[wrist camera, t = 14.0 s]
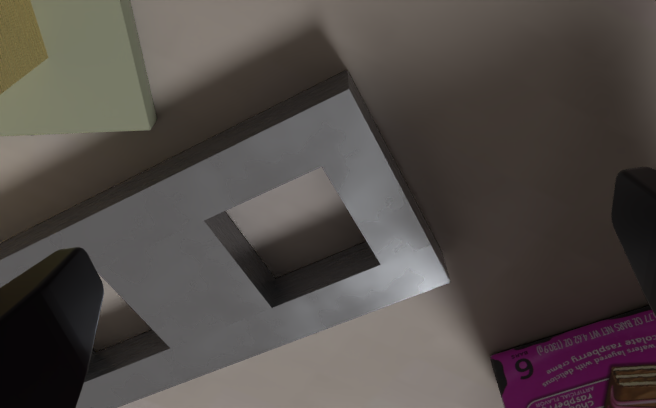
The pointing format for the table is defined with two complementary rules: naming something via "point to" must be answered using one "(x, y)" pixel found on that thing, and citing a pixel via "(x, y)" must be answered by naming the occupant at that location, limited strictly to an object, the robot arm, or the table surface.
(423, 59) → the table surface
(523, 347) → the candy bar box
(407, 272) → the steel rail plate
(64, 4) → the olive rubber mat
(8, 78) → the brass peg
